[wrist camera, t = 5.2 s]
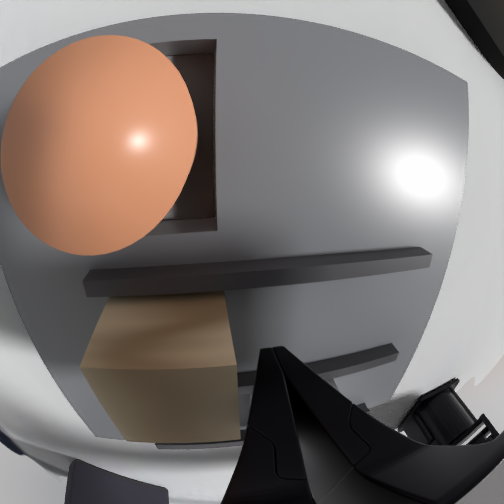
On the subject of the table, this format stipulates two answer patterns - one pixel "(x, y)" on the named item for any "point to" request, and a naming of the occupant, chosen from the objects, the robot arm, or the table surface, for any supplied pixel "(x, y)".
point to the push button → (98, 144)
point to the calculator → (108, 488)
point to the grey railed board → (276, 209)
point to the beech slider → (166, 368)
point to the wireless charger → (483, 27)
